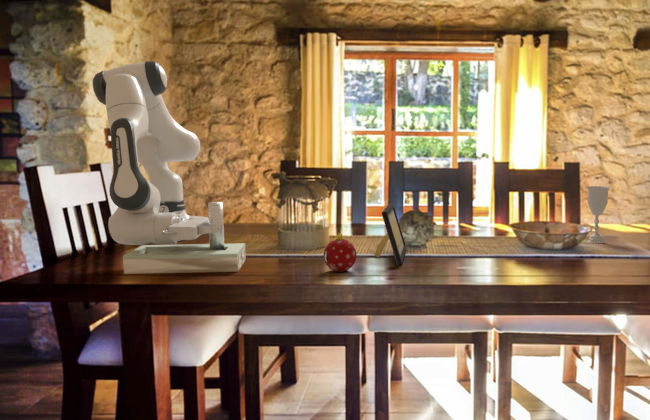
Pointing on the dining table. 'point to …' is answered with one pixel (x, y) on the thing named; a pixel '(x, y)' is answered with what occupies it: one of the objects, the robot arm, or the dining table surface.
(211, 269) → the keyhole board
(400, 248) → the picture frame
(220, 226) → the keyhole peg
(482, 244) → the dining table surface
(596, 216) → the chalice
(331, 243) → the christmas ornament
